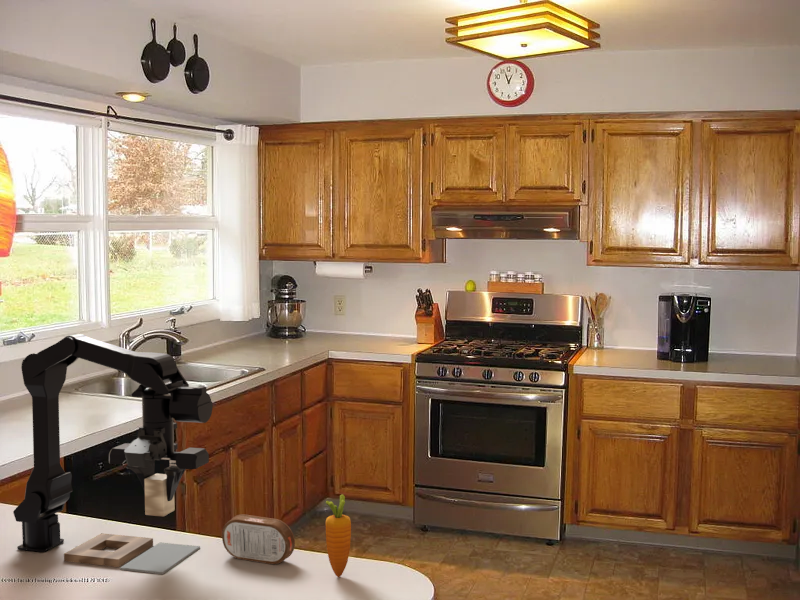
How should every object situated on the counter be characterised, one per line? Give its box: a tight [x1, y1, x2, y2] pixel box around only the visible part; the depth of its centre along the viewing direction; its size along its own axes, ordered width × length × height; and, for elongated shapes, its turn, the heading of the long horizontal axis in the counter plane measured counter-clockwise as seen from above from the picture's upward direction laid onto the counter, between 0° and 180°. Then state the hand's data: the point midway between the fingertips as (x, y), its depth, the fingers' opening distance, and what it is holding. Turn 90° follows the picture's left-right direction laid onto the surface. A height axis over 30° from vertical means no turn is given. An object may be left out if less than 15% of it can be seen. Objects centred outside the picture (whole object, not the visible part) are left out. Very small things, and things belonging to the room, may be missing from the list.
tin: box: [221, 513, 296, 565], centre depth 163 cm, size 15×3×8 cm, turn 69°
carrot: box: [325, 494, 352, 578], centre depth 154 cm, size 5×5×15 cm
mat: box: [119, 542, 201, 575], centre depth 165 cm, size 9×14×1 cm, turn 165°
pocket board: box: [63, 532, 154, 568], centre depth 168 cm, size 12×12×2 cm
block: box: [144, 473, 176, 517], centre depth 164 cm, size 4×4×7 cm
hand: (159, 499), depth 164 cm, fingers closed on block, 4 cm apart
